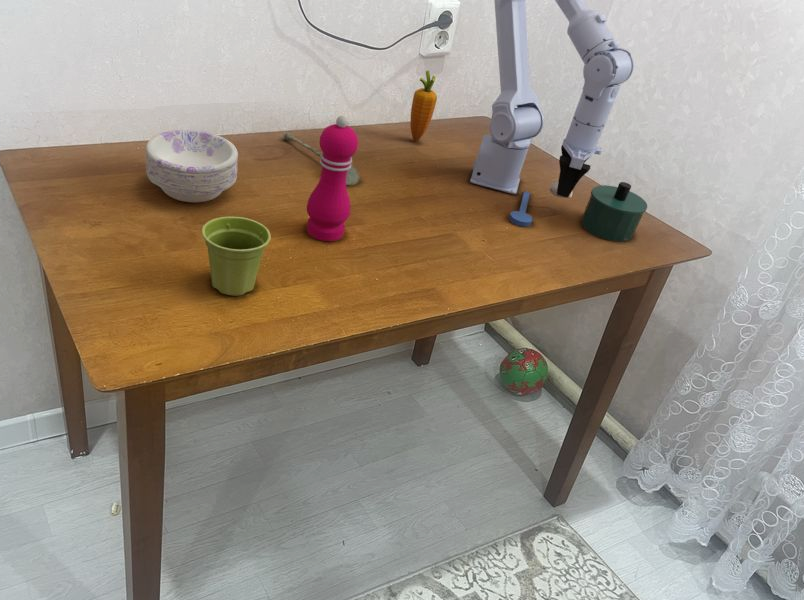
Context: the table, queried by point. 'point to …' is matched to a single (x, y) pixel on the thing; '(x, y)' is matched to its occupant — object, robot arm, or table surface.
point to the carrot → (422, 107)
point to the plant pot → (234, 252)
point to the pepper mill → (332, 183)
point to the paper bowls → (191, 164)
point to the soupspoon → (352, 173)
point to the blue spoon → (521, 213)
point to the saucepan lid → (619, 198)
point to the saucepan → (609, 222)
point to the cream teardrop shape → (554, 190)
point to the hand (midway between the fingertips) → (562, 190)
